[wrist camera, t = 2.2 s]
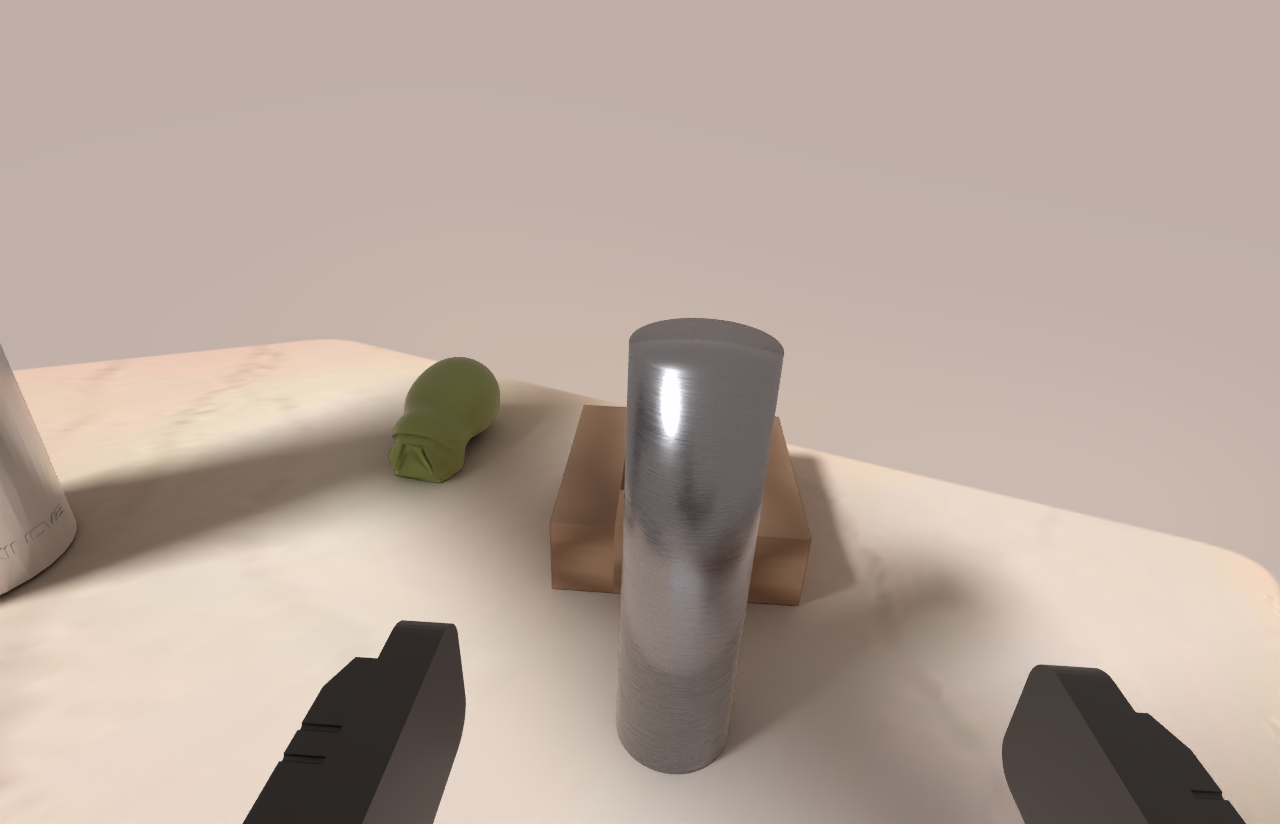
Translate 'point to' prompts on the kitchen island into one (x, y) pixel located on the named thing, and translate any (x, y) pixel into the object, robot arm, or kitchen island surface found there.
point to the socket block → (596, 507)
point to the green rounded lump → (443, 418)
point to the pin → (690, 530)
